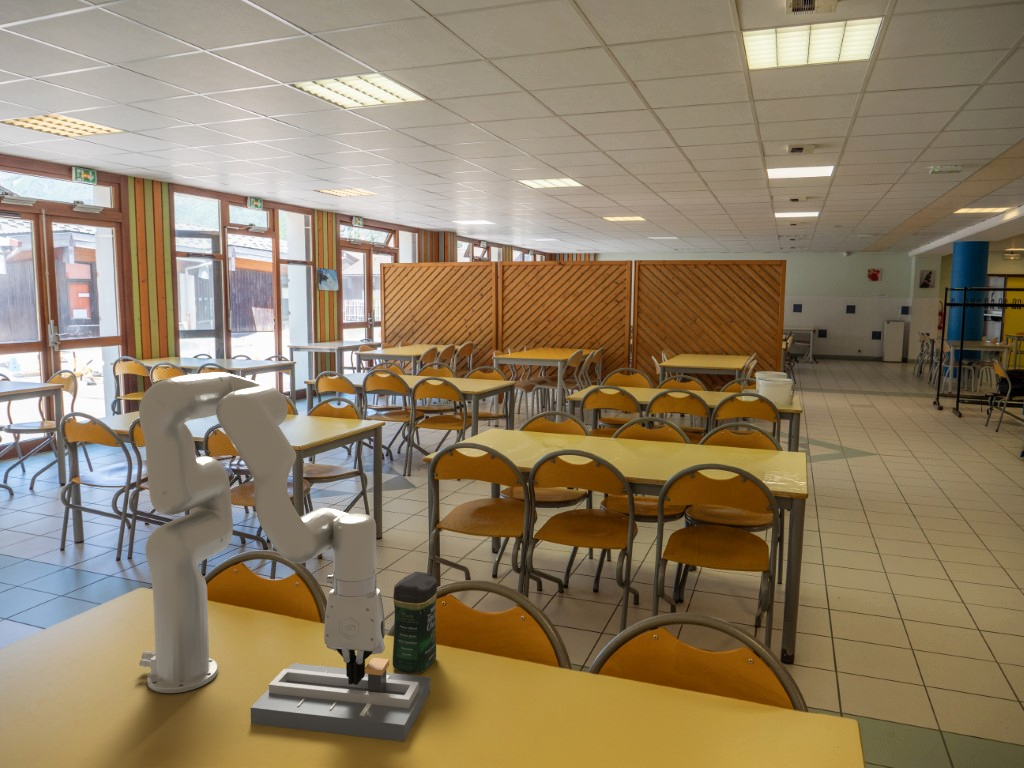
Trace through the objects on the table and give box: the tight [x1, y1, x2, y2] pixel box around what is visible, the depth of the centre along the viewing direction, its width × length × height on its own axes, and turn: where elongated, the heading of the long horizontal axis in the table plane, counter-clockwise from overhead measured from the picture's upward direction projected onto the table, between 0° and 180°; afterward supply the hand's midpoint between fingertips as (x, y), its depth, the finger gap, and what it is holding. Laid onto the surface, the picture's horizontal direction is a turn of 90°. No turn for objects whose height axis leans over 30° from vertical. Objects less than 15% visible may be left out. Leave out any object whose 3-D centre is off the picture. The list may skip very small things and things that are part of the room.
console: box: [250, 662, 431, 743], centre depth 131 cm, size 28×16×5 cm, turn 81°
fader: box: [365, 657, 390, 693], centre depth 129 cm, size 3×4×6 cm
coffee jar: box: [392, 571, 438, 675], centre depth 146 cm, size 10×8×19 cm
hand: (355, 680), depth 130 cm, fingers closed
